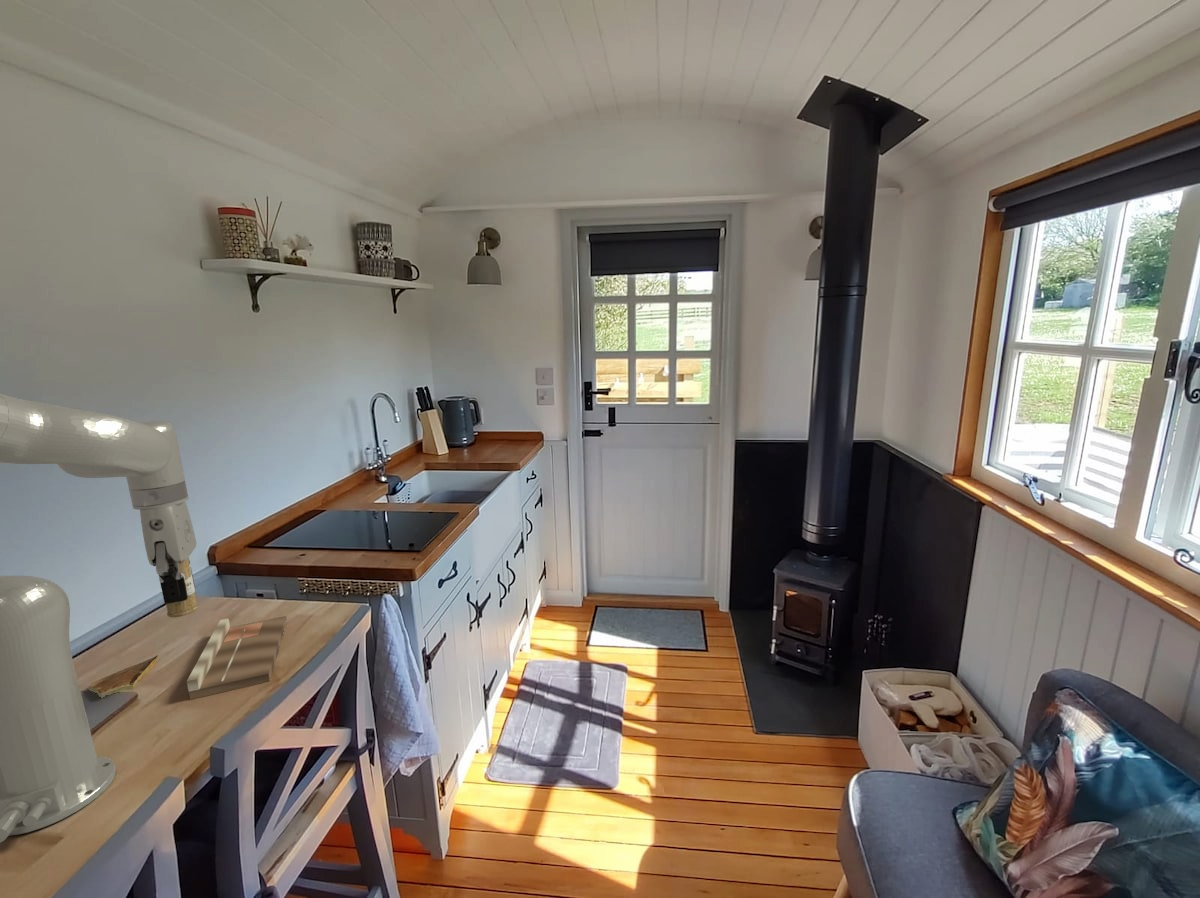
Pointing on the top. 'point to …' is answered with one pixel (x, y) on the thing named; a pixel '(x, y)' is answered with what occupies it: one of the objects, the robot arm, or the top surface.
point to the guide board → (237, 657)
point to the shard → (122, 678)
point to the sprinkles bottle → (191, 603)
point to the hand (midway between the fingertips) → (180, 594)
